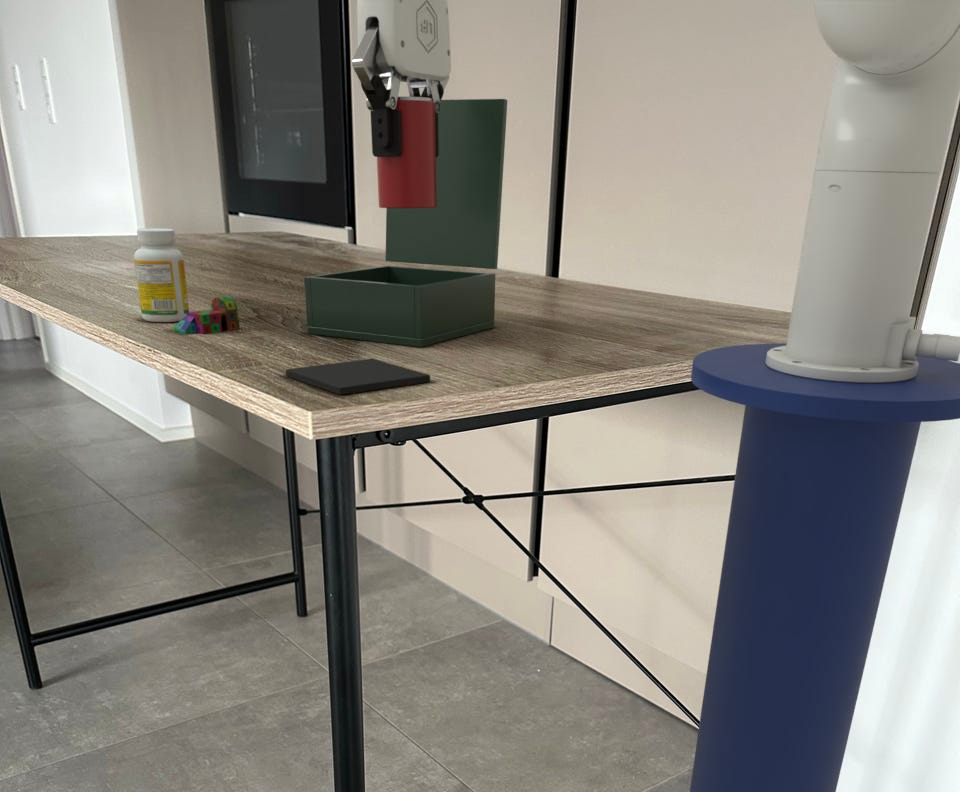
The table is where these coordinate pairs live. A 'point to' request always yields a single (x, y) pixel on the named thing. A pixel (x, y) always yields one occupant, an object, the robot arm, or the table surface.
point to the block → (211, 318)
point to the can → (411, 159)
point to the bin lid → (458, 192)
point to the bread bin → (400, 304)
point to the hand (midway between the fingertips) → (406, 155)
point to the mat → (357, 376)
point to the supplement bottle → (160, 276)
